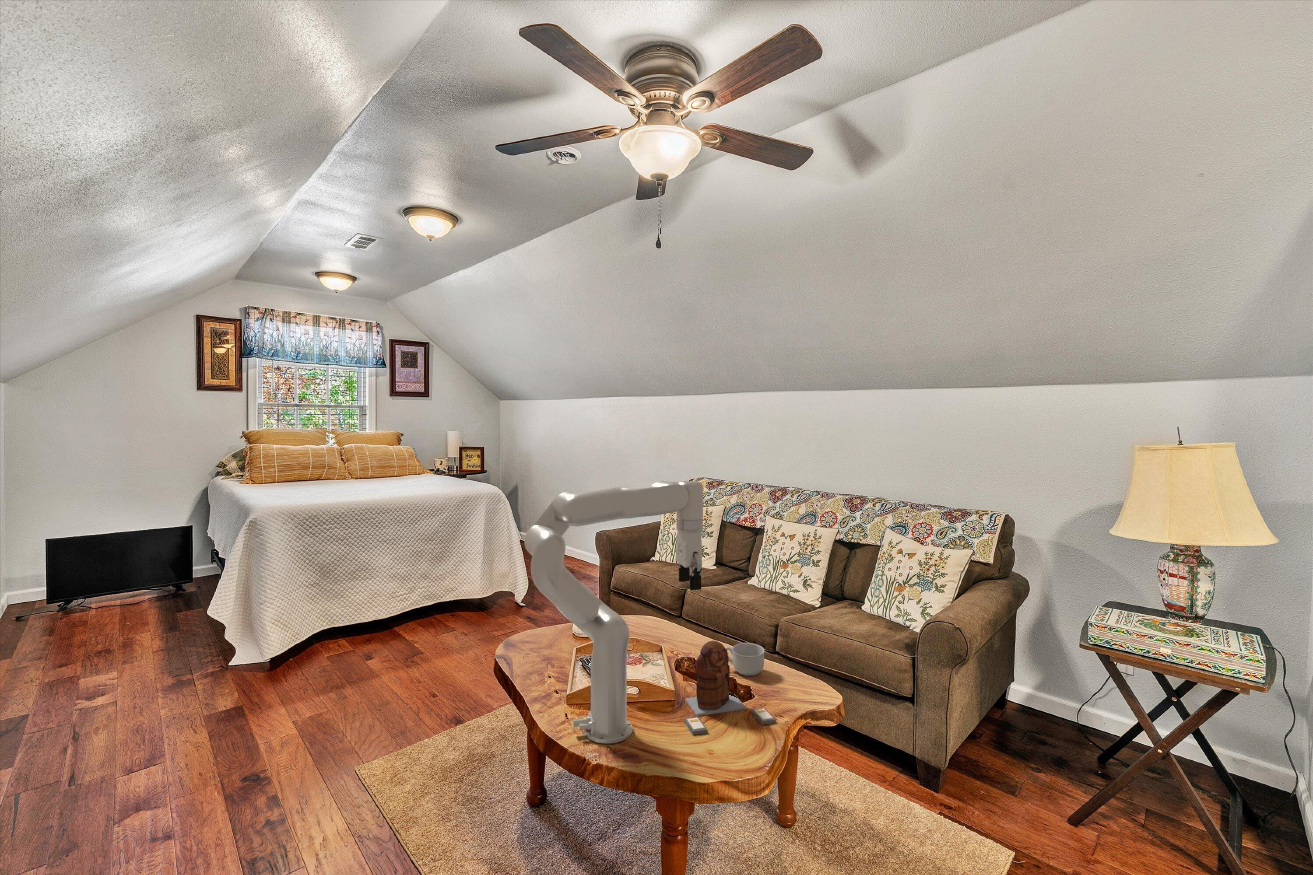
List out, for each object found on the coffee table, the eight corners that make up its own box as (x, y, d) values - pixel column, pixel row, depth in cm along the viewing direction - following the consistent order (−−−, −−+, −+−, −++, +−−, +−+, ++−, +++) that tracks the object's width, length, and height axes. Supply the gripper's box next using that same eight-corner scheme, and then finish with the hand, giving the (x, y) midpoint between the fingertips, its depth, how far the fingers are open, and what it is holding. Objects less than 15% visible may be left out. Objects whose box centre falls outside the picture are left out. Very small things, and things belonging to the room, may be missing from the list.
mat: (696, 715, 162) (696, 713, 162) (685, 700, 172) (685, 698, 172) (746, 709, 166) (746, 707, 166) (732, 694, 176) (732, 692, 176)
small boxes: (692, 734, 152) (692, 730, 152) (684, 722, 159) (684, 717, 159) (775, 722, 159) (775, 718, 159) (764, 711, 165) (764, 706, 165)
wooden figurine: (712, 714, 162) (712, 650, 162) (693, 707, 166) (693, 644, 166) (733, 699, 172) (734, 638, 172) (715, 693, 176) (715, 633, 175)
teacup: (769, 670, 194) (769, 646, 194) (756, 681, 185) (756, 656, 185) (731, 661, 202) (731, 638, 202) (717, 672, 193) (717, 648, 193)
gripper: (668, 521, 171) (668, 578, 171) (686, 530, 155) (686, 594, 155) (692, 520, 173) (692, 577, 173) (713, 529, 157) (713, 592, 157)
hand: (689, 585), depth 164 cm, fingers open, 9 cm apart
